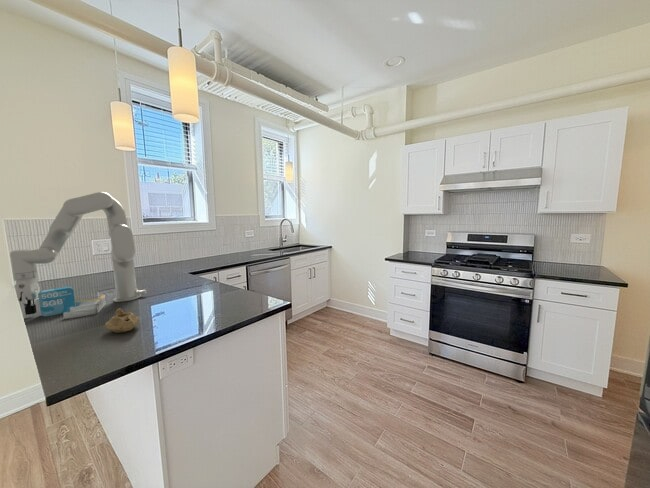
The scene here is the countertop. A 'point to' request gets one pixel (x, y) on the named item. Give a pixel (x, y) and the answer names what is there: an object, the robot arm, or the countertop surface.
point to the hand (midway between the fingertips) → (31, 313)
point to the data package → (56, 301)
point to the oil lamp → (122, 321)
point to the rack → (86, 308)
